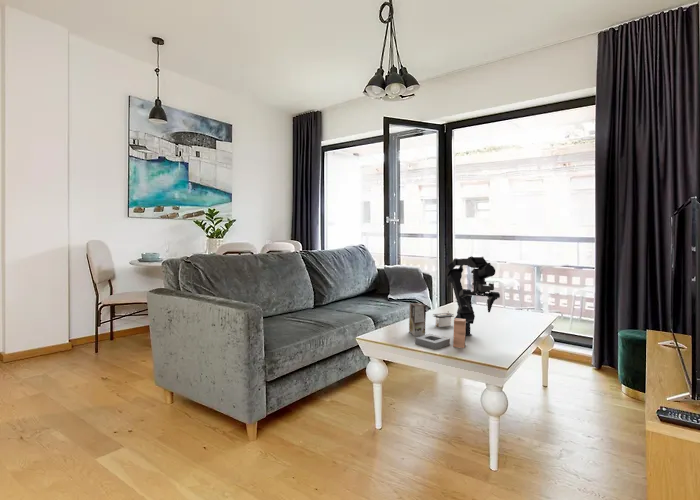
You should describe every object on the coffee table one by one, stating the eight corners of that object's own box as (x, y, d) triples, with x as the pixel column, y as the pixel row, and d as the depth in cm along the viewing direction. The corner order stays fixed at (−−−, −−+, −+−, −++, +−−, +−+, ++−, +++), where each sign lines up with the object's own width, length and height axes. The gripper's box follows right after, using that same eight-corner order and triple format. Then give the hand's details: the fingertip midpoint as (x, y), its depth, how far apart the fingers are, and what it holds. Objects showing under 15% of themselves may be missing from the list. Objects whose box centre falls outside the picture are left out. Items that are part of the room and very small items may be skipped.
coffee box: (425, 335, 211) (426, 305, 211) (414, 336, 210) (414, 306, 210) (419, 331, 220) (420, 302, 220) (408, 331, 219) (409, 302, 218)
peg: (454, 344, 197) (455, 318, 196) (465, 345, 195) (465, 319, 194) (453, 346, 193) (454, 320, 192) (463, 348, 191) (464, 321, 190)
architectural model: (415, 324, 238) (416, 308, 237) (449, 321, 248) (450, 305, 248) (435, 332, 220) (436, 315, 220) (471, 328, 230) (471, 311, 230)
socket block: (429, 339, 205) (429, 333, 205) (449, 344, 196) (449, 338, 196) (415, 343, 197) (415, 337, 197) (435, 349, 188) (435, 343, 188)
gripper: (466, 275, 191) (467, 307, 187) (504, 278, 193) (506, 310, 188) (458, 280, 202) (459, 311, 197) (494, 283, 203) (495, 314, 199)
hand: (480, 311), depth 195 cm, fingers open, 9 cm apart
